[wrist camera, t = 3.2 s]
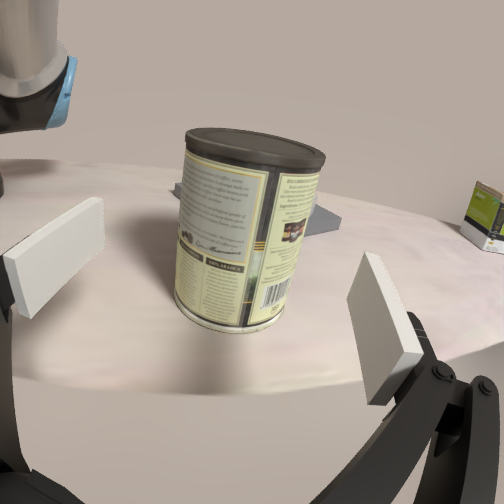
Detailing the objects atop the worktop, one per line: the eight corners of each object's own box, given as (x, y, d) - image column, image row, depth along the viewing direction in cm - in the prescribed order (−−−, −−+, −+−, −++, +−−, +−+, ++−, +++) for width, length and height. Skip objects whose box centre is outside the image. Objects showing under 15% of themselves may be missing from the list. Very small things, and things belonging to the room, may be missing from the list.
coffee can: (201, 255, 33) (219, 124, 27) (293, 284, 32) (330, 149, 25) (150, 307, 25) (157, 132, 18) (268, 351, 23) (320, 166, 16)
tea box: (486, 238, 68) (504, 191, 61) (509, 256, 59) (529, 206, 52) (457, 231, 65) (476, 178, 58) (481, 251, 56) (504, 193, 49)
